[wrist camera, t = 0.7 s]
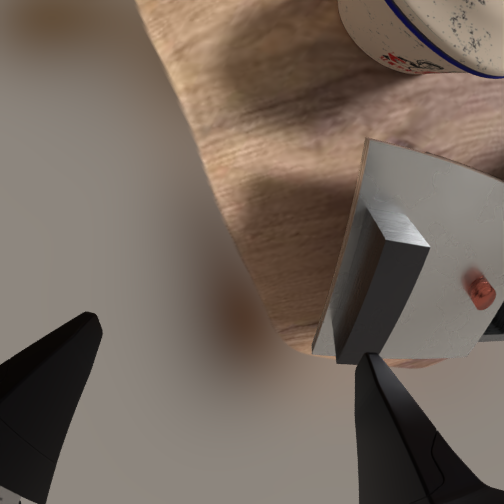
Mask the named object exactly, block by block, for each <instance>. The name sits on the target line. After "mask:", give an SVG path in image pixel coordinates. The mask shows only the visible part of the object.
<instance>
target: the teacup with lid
mask: <svg viewBox="0 0 504 504" xmlns="http://www.w3.org/2000/svg"><path fill="white" fill-rule="evenodd" d="M338 9H339V14H340V17H341V20H342V23H343V25H344V27H345V29H346V30H347V32H348V34H349V35H350V37H351V38H352V39H353V41H354V42H355V43H356V44H357V45H358V46H359V47H360V48H361V49H362V50H363V51H364V52H365V53H366V54H367V55H369V56H370V57H371V58H373V59H374V60H375V61H377V62H379V63H380V64H382V65H384V66H386V67H388V68H390V69H393V70H396V71H399V72H403V73H408V74H433V73H471V74H473V75H476V76H480V77H484V78H491V79H501V78H504V0H338Z"/></svg>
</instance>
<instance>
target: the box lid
mask: <svg viewBox="0 0 504 504" xmlns="http://www.w3.org/2000/svg"><path fill="white" fill-rule="evenodd" d="M503 301H504V182H503V181H501V180H499V179H496V178H494V177H492V176H489V175H487V174H484V173H482V172H479V171H477V170H474V169H471V168H469V167H466V166H463V165H461V164H458V163H455V162H452V161H449V160H446V159H443V158H440V157H437V156H434V155H431V154H427V153H424V152H421V151H417V150H414V149H410V148H407V147H403V146H399V145H396V144H392V143H388V142H384V141H380V140H375V139H371V138H367V137H365V142H364V148H363V153H362V159H361V164H360V169H359V174H358V179H357V183H356V188H355V193H354V197H353V202H352V206H351V210H350V215H349V219H348V223H347V227H346V231H345V235H344V239H343V243H342V247H341V250H340V254H339V258H338V262H337V265H336V269H335V272H334V276H333V279H332V283H331V286H330V289H329V293H328V296H327V299H326V303H325V306H324V309H323V312H322V315H321V318H320V321H319V324H318V328H317V331H316V334H315V336H314V339H313V342H312V354H314V355H326V356H336V362H337V364H353V365H358V363H359V362H360V360H361V358H362V356H363V354H364V353H366V352H375V353H378V354H379V355H380V357H381V358H389V359H428V358H456V357H467V355H468V354H469V353H470V352H471V350H472V349H473V347H474V346H475V345H476V343H477V342H478V340H479V339H480V338H481V336H482V335H483V333H484V332H485V330H486V329H487V327H488V326H489V324H490V323H491V321H492V319H493V318H494V316H495V315H496V313H497V311H498V310H499V308H500V306H501V305H502V303H503Z"/></svg>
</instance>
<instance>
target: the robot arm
mask: <svg viewBox="0 0 504 504" xmlns="http://www.w3.org/2000/svg"><path fill="white" fill-rule="evenodd" d="M102 334H103V333H102V328H101V325H100V323H99V319H98V317H97V315H96V314H95V313H91V312H84V313H82V314H80V315H78V316H77V317H75V318H74V319H72V320H70V321H69V322H67V323H65V324H64V325H62V326H61V327H59V328H58V329H56V330H54V331H52V332H51V333H49V334H48V335H46V336H45V337H43V338H41V339H40V340H38V341H37V342H35V343H33V344H32V345H30V346H29V347H27V348H25V349H24V350H22V351H21V352H19V353H18V354H16V355H14V356H13V357H11V358H10V359H8V360H7V361H5V362H4V363H2V364H1V365H0V504H21V501H20V498H21V496H22V497H24V498H26V499H28V500H30V501H33V502H35V503H37V504H46V501H47V496H48V493H49V489H50V485H51V482H52V478H53V474H54V471H55V468H56V464H57V460H58V458H59V454H60V451H61V449H62V445H63V443H64V440H65V437H66V434H67V431H68V428H69V425H70V422H71V420H72V417H73V415H74V412H75V409H76V407H77V404H78V401H79V399H80V397H81V394H82V392H83V389H84V387H85V384H86V382H87V379H88V377H89V375H90V372H91V369H92V366H93V363H94V360H95V357H96V354H97V351H98V347H99V345H100V342H101V338H102ZM355 427H356V439H357V455H358V476H359V504H504V491H503V490H499V489H495V488H492V487H490V486H488V485H486V484H484V483H483V482H482V481H480V480H479V479H478V477H477V476H475V474H474V473H473V472H472V471H471V470H470V469H469V468H468V467H467V465H466V464H465V463H464V462H463V461H462V460H461V459H460V458H459V457H458V456H457V454H456V453H455V452H454V451H453V450H452V449H451V447H450V446H449V445H448V443H447V442H446V441H445V440H444V438H443V437H442V436H441V434H440V433H439V432H438V431H436V428H435V426H434V425H433V424H432V422H431V421H430V420H429V418H428V417H427V416H426V414H425V413H424V412H423V410H422V409H421V408H420V407H419V405H418V404H417V403H416V402H415V400H414V399H413V397H412V396H411V395H410V394H409V392H408V391H407V390H406V388H405V387H404V386H403V385H402V383H401V382H400V381H399V380H398V378H397V377H396V376H395V374H394V373H393V372H392V371H391V369H390V368H389V367H388V366H387V364H386V363H385V362H384V360H383V359H382V358H381V357H380V355H379V354H378V353H375V352H366V353H364V354H363V356H362V358H361V360H360V362H359V363H358V365H357V367H356V370H355Z"/></svg>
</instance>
